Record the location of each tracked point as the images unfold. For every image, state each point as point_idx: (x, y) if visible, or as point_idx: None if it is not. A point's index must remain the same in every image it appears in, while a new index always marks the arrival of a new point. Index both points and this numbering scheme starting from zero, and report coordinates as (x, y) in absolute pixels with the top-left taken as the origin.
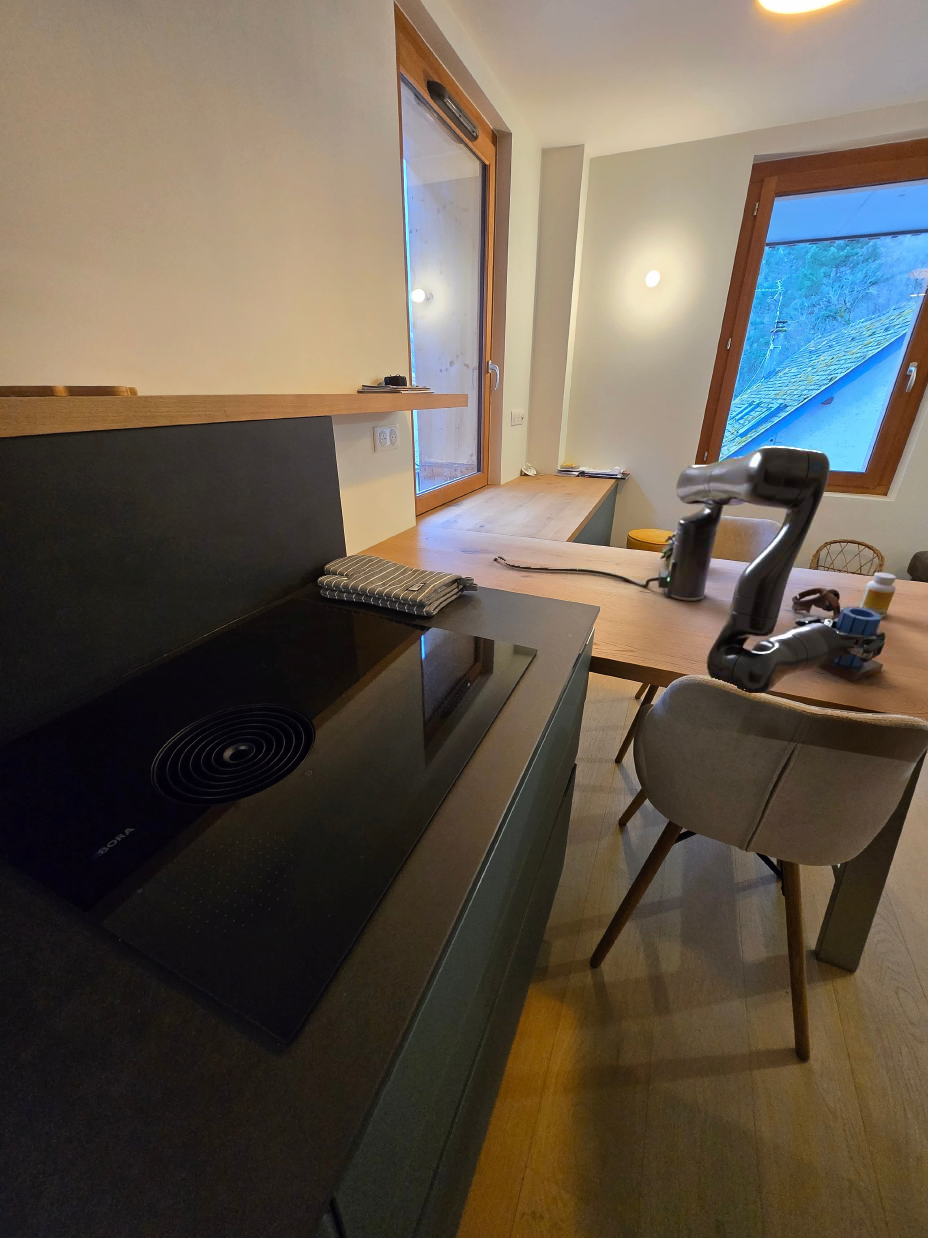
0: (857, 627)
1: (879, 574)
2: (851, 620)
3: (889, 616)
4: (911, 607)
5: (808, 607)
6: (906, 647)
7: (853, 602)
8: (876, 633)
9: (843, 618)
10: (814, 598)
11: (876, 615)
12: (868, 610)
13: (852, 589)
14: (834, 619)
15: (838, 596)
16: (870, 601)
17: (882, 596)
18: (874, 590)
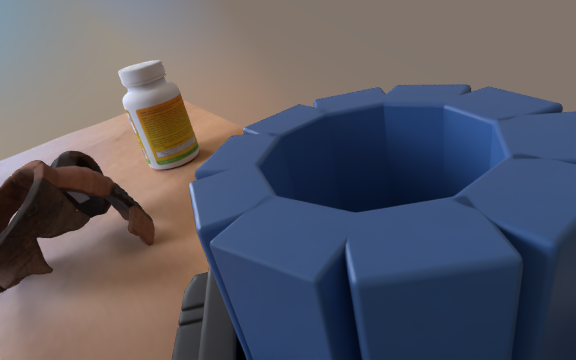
0: (567, 333)
1: (128, 69)
2: (496, 320)
3: (204, 146)
4: (206, 118)
5: (30, 256)
6: None
7: (129, 160)
8: None
9: (339, 344)
10: (20, 214)
11: (443, 96)
12: (333, 103)
13: (107, 142)
14: (185, 317)
15: (92, 163)
16: (159, 135)
17: (171, 111)
18: (148, 107)
